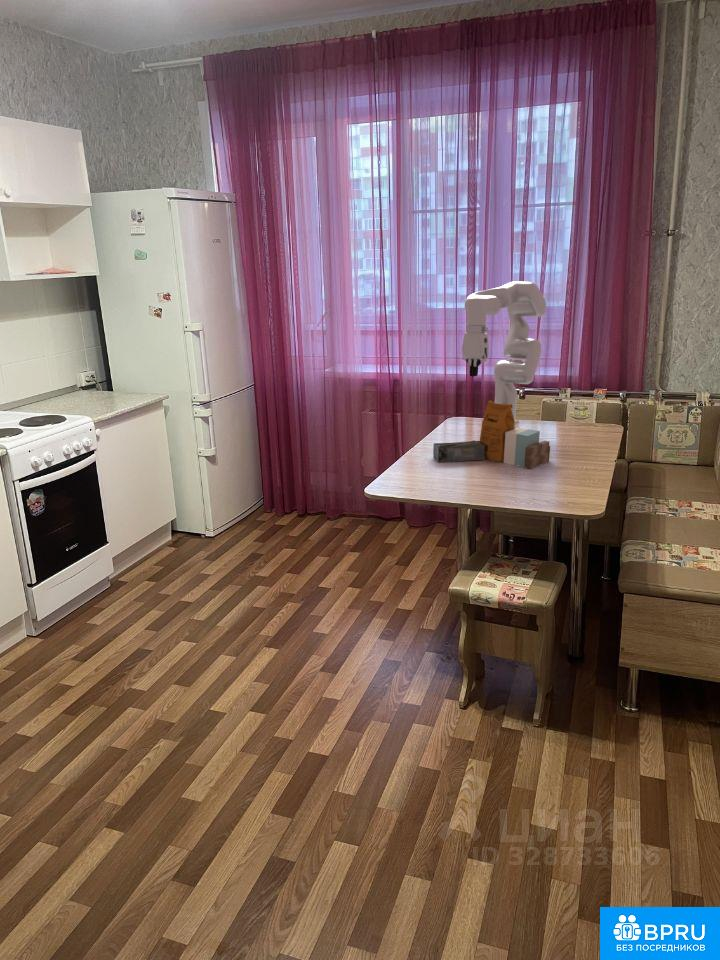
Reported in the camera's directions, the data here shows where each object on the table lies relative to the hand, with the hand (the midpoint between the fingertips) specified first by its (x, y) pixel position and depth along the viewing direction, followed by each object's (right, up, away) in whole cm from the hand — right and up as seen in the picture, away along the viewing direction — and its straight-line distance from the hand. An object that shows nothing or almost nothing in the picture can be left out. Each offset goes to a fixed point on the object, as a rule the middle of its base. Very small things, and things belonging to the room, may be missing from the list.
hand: (473, 375), depth 295 cm
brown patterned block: (+15, -34, -11) cm, 39 cm away
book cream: (+14, -34, -12) cm, 39 cm away
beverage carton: (-7, -34, -9) cm, 36 cm away
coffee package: (+7, -33, -8) cm, 35 cm away
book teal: (+18, -35, -15) cm, 42 cm away
